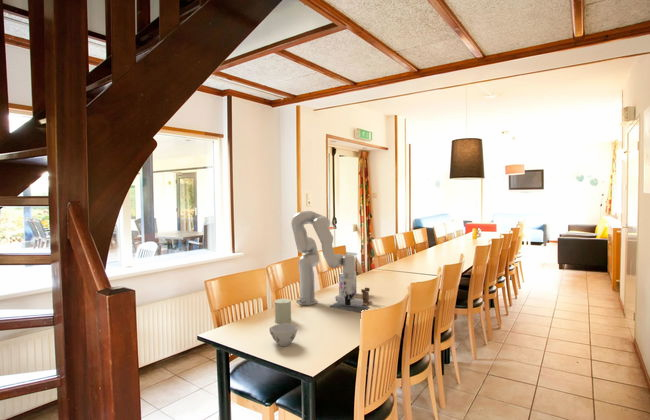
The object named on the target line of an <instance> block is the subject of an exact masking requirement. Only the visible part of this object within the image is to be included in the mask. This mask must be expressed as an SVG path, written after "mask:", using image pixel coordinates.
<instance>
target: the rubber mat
mask: <svg viewBox="0 0 650 420" xmlns="http://www.w3.org/2000/svg"><path fill="white" fill-rule="evenodd" d="M329 308H334V309H337V310H338V309H340V310H345V311H349V312H355V313H360V314H361V313H362V312H361V311H362V310H364V311H366V310H368V309H369V308H370V307H369V305H368V306H362V305H361V306H360V305H354V304H350V305H345V303H343V302H338V301H335V302H334V303H333V304H331V305H329ZM365 309H366V310H365Z"/></svg>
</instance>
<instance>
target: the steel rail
mask: <svg viewBox="0 0 650 420" xmlns="http://www.w3.org/2000/svg"><path fill="white" fill-rule="evenodd" d="M349 299H350V304H354V305H360V306H361V305H363V299H362V298H361V299H360V298H356V297H353V298H351V297H349ZM335 302H343V303H345V297H344V296H339V294H338V295H336V296H335Z"/></svg>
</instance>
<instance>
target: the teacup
mask: <svg viewBox="0 0 650 420" xmlns="http://www.w3.org/2000/svg"><path fill="white" fill-rule="evenodd" d="M297 331H298V326H297V325H296V324H293V323H283V324H275V325H273V326H271V327H269V334H270V336H271V337H272V339H273V340H274V342H275V343H276V344H277V345H278V346H280V347H286V346H290V345H291V343H292V342H293V341H294V340H295V338H296V335H297Z"/></svg>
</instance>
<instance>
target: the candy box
mask: <svg viewBox="0 0 650 420" xmlns="http://www.w3.org/2000/svg"><path fill="white" fill-rule="evenodd" d="M338 280H339V281H338V284H339V286H338V288H339V289H338V291H339V294H338V295H339V296H343V291H342V285H343V272H341V273H340V272H339V274H338ZM355 281H356V282H357V271H356V270H355ZM354 295H357V291H356V292H354V294H353V296H354Z"/></svg>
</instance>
